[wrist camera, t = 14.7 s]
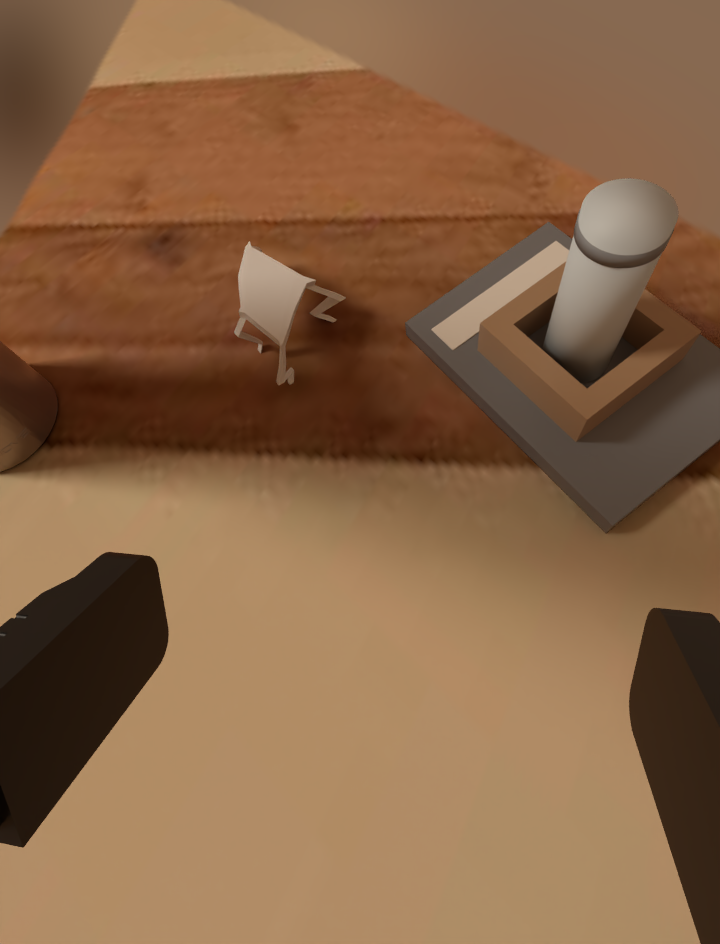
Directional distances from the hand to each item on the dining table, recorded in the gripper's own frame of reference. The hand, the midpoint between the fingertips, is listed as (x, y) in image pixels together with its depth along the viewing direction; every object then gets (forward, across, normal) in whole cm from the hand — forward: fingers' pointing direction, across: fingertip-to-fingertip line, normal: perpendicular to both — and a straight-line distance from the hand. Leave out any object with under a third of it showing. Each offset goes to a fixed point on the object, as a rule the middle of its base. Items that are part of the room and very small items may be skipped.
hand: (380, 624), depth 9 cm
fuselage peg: (+32, -8, +1) cm, 34 cm away
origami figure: (+36, +13, 0) cm, 39 cm away
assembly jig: (+34, -8, +2) cm, 35 cm away
